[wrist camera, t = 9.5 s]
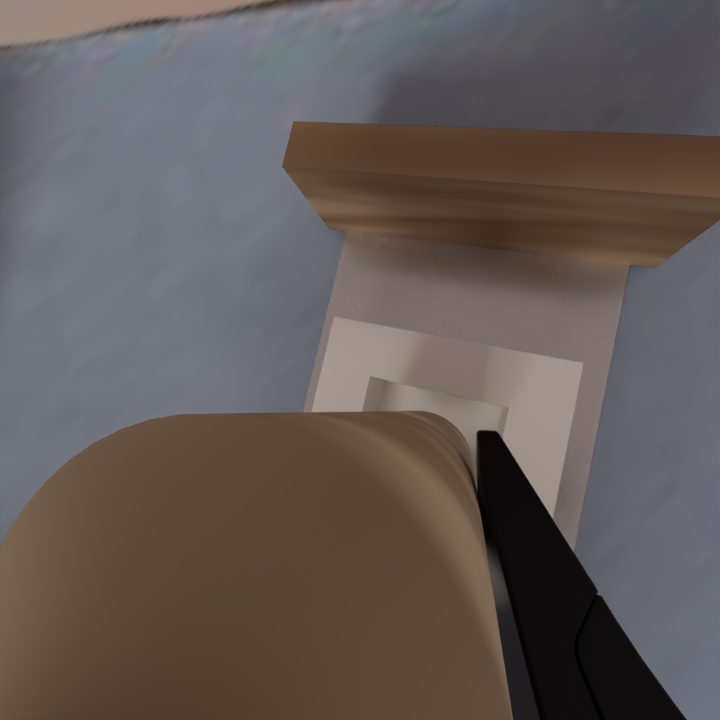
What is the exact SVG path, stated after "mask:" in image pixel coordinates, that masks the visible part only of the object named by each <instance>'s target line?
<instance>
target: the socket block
mask: <svg viewBox="0 0 720 720" xmlns="http://www.w3.org/2000/svg"><path fill="white" fill-rule="evenodd" d="M583 364H584V363H581V362H575V361H570V360H564V359H559V358H554V357H548V356H543V355H538V354H532V353H527V352H522V351H516V350H511V349H505V348H500V347H495V346H489V345H484V344H479V343H473V342H468V341H462V340H457V339H452V338H446V337H441V336H436V335H430V334H425V333H419V332H414V331H409V330H403V329H398V328H393V327H387V326H382V325H377V324H371V323H366V322H360V321H355V320H350V319H344V318H339V317H334V319H333V323H332V327H331V332H330V336H329V340H328V344H327V348H326V353H325V357H324V361H323V365H322V369H321V373H320V378H319V382H318V386H317V390H316V394H315V399H314V403H313V407H312V411H311V412H364V411H427V412H431V413H434V414H437V415H440V416H442V417H443V418H445V419H447V420H448V421H450V422H451V423H452V424H453V425H454V426H455V427H457V429H458V430H459V431H460V432H461V433H462V435H463V436H464V438H465V440H466V442H467V444H468V446H469V449H470V452H471V456H472V461H473V468H474V474H475V480H476V487H477V467H476V433H477V431H479V430H495V431H497V432H498V433H499V434H500V436H501V437H502V439H503V441H504V442H505V444H506V445H507V447H508V448H509V450H510V452H511V453H512V455H513V456H514V458H515V460H516V461H517V463H518V464H519V466H520V468H521V469H522V471H523V472H524V474H525V476H526V477H527V479H528V480H529V482H530V483H531V485H532V487H533V488H534V490H535V491H536V493H537V495H538V496H539V498H540V499H541V501H542V503H543V504H544V506H545V507H546V509H547V511H548V512H549V514H550V515H551V517H552V519H553V515H554V510H555V505H556V500H557V495H558V490H559V485H560V479H561V474H562V469H563V464H564V459H565V454H566V449H567V444H568V439H569V434H570V429H571V424H572V419H573V414H574V409H575V404H576V399H577V394H578V389H579V384H580V379H581V374H582V369H583Z"/></svg>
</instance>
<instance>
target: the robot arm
mask: <svg viewBox="0 0 720 720" xmlns="http://www.w3.org/2000/svg"><path fill="white" fill-rule="evenodd" d="M476 467H477V494H478V501H479V507H480V512H481V519H482V525H483V531H484V538H485V544H486V550H487V557H488V563H489V570H490V576H491V582H492V589H493V595H494V601H495V608H496V614H497V621H498V627H499V633H500V640H501V646H502V652H503V659H504V665H505V671H506V678H507V684H508V691H509V697H510V703H511V710H512V716H513V720H687V719H686V718H685V717H684V715H683V714H682V713H681V711H680V710H679V709H678V707H677V706H676V705H675V703H674V702H673V701H672V699H671V698H670V697H669V695H668V694H667V692H666V691H665V690H664V688H663V687H662V686H661V684H660V683H659V681H658V680H657V679H656V677H655V676H654V674H653V673H652V672H651V670H650V669H649V668H648V666H647V665H646V663H645V662H644V661H643V659H642V658H641V656H640V655H639V653H638V652H637V650H636V649H635V647H634V646H633V644H632V643H631V641H630V640H629V638H628V637H627V635H626V634H625V632H624V631H623V629H622V628H621V626H620V625H619V623H618V622H617V620H616V618H615V617H614V615H613V614H612V612H611V610H610V609H609V607H608V606H607V604H606V603H605V601H604V599H603V598H602V596H600V595H597V593H598V590H597V589H596V587H595V585H594V584H593V582H592V581H591V579H590V577H589V576H588V574H587V573H586V571H585V569H584V568H583V566H582V565H581V563H580V562H579V560H578V558H577V557H576V555H575V554H574V552H573V550H572V549H571V547H570V546H569V544H568V542H567V541H566V539H565V538H564V536H563V534H562V533H561V531H560V530H559V528H558V526H557V525H556V523H555V522H554V520H553V519H552V517H551V515H550V514H549V512H548V511H547V509H546V507H545V506H544V504H543V503H542V501H541V499H540V498H539V496H538V495H537V493H536V491H535V490H534V488H533V487H532V485H531V483H530V482H529V480H528V479H527V477H526V476H525V474H524V472H523V471H522V469H521V468H520V466H519V464H518V463H517V461H516V460H515V458H514V456H513V455H512V453H511V452H510V450H509V448H508V447H507V445H506V444H505V442H504V441H503V439H502V437H501V436H500V434H499V433H498V432H497V431H495V430H479V431H477V433H476Z"/></svg>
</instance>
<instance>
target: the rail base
mask: <svg viewBox="0 0 720 720" xmlns="http://www.w3.org/2000/svg"><path fill="white" fill-rule="evenodd" d="M282 167H283V168H284V169H285V171H286V172H287V173H288V174H289V176H290V177H291V178H292V180H293V181H294V182H295V184H296V185H297V186H298V188H299V189H300V190H301V192H302V193H303V194H304V196H305V197H306V198H307V200H308V201H309V202H310V204H311V205H312V206H313V208H314V209H315V210H316V212H317V213H318V214H319V215H320V217H321V218H322V219H323V221H324V222H325V223H326V225H327V226H328V227H329V229H332V230H340V231H346V235H345V239H344V243H343V247H342V251H341V256H340V260H339V264H338V268H337V272H336V276H335V280H334V285H333V289H332V293H331V297H330V301H329V305H328V310H327V314H326V318H325V322H324V326H323V330H322V335H321V339H320V343H319V347H318V351H317V355H316V360H315V364H314V368H313V372H312V376H311V380H310V384H309V389H308V393H307V397H306V401H305V405H304V409H303V412H311V411H312V407H313V403H314V399H315V394H316V390H317V386H318V382H319V378H320V373H321V369H322V365H323V361H324V357H325V353H326V348H327V344H328V340H329V336H330V332H331V327H332V323H333V319H334V317H339V318H344V319H350V320H355V321H360V322H366V323H371V324H377V325H382V326H387V327H393V328H398V329H403V330H409V331H414V332H419V333H425V334H430V335H436V336H441V337H446V338H452V339H457V340H462V341H468V342H473V343H479V344H484V345H489V346H495V347H500V348H505V349H511V350H516V351H522V352H527V353H532V354H538V355H543V356H548V357H554V358H559V359H564V360H570V361H575V362H581V363H584V364H583V369H582V374H581V379H580V384H579V389H578V394H577V399H576V404H575V409H574V414H573V419H572V424H571V429H570V434H569V439H568V444H567V449H566V454H565V459H564V464H563V469H562V474H561V479H560V485H559V490H558V495H557V500H556V505H555V510H554V515H553V520H554V522H555V523H556V525H557V526H558V528H559V530H560V531H561V533H562V534H563V536H564V538H565V539H566V541H567V542H568V544H569V546H570V547H571V549H572V550H573V552H574V549H575V544H576V539H577V534H578V528H579V523H580V518H581V513H582V508H583V503H584V498H585V492H586V487H587V482H588V477H589V472H590V467H591V462H592V456H593V451H594V446H595V441H596V436H597V431H598V426H599V420H600V415H601V410H602V405H603V400H604V395H605V390H606V384H607V379H608V374H609V369H610V364H611V359H612V354H613V349H614V343H615V338H616V333H617V328H618V323H619V318H620V313H621V307H622V302H623V297H624V292H625V287H626V282H627V277H628V271H629V266H630V265H635V266H644V267H652V268H655V267H657V266H658V265H659V264H661V263H662V262H663V261H665V260H666V259H667V258H669V257H670V256H672V255H673V254H674V253H676V252H677V251H678V250H680V249H681V248H682V247H684V246H685V245H686V244H688V243H689V242H690V241H692V240H693V239H695V238H696V237H697V236H699V235H700V234H701V233H703V232H704V231H705V230H707V229H708V228H709V227H711V226H712V225H714V224H715V223H716V222H718V221H719V220H720V136H692V135H663V134H635V133H607V132H579V131H551V130H523V129H494V128H466V127H438V126H410V125H382V124H353V123H325V122H297V121H293V125H292V129H291V133H290V137H289V141H288V145H287V149H286V153H285V157H284V161H283V165H282Z"/></svg>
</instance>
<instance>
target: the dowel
mask: <svg viewBox="0 0 720 720" xmlns="http://www.w3.org/2000/svg"><path fill="white" fill-rule="evenodd" d="M0 720H513V716H512V710H511V703H510V697H509V691H508V684H507V678H506V671H505V665H504V659H503V652H502V646H501V640H500V633H499V627H498V621H497V614H496V608H495V601H494V595H493V589H492V582H491V576H490V570H489V563H488V557H487V550H486V544H485V538H484V531H483V525H482V519H481V512H480V507H479V501H478V494H477V487H476V480H475V474H474V468H473V461H472V456H471V452H470V449H469V446H468V444H467V442H466V440H465V438H464V436H463V435H462V433H461V432H460V431H459V430H458V429H457V427H455V426H454V425H453V424H452V423H451V422H450V421H448V420H447V419H445V418H443V417H442V416H440V415H437V414H434V413H431V412H427V411H364V412H300V413H236V414H180V415H174V416H169V417H163V418H157V419H151V420H148V421H145V422H142V423H139V424H136V425H133V426H130V427H127V428H124V429H121V430H119V431H117V432H115V433H113V434H111V435H109V436H107V437H105V438H103V439H101V440H99V441H97V442H95V443H93V444H92V445H90V446H89V447H88V448H86V449H85V450H83V451H82V452H80V453H79V454H78V455H76V456H75V457H73V458H72V459H70V460H69V461H68V462H67V463H66V464H65V465H64V466H62V467H61V468H60V469H59V470H58V471H57V472H56V473H55V474H54V475H53V476H52V477H50V478H49V479H48V480H47V481H46V482H45V483H44V485H43V486H42V487H41V488H40V489H39V490H38V492H37V493H36V494H35V495H34V496H33V498H32V499H31V500H30V501H29V502H28V503H27V505H26V506H25V507H24V509H23V510H22V512H21V513H20V515H19V516H18V518H17V519H16V521H15V522H14V524H13V525H12V527H11V528H10V530H9V531H8V533H7V535H6V537H5V539H4V541H3V543H2V544H1V546H0Z"/></svg>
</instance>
